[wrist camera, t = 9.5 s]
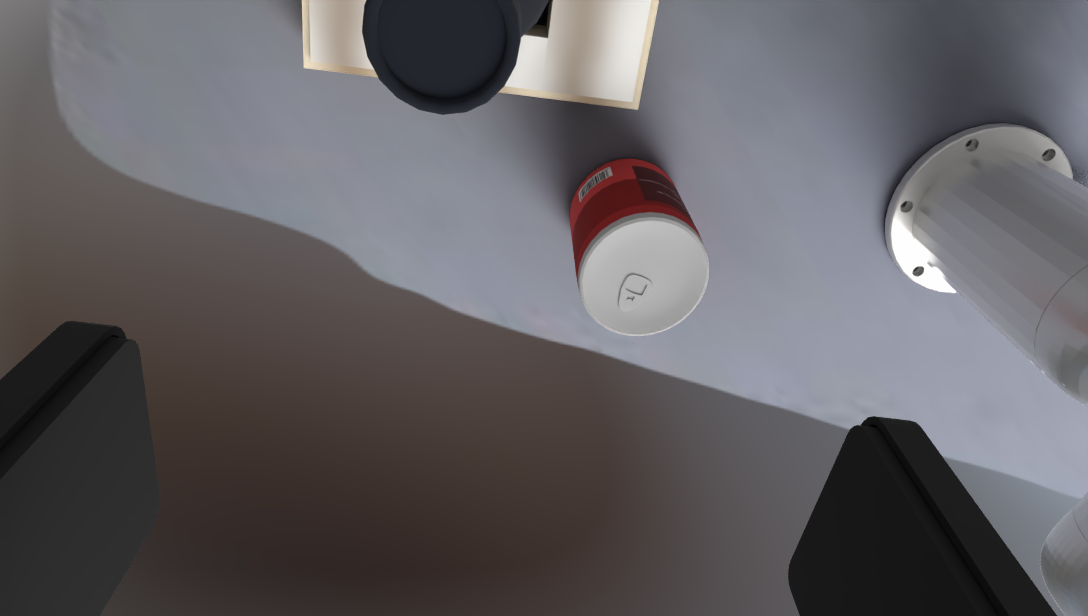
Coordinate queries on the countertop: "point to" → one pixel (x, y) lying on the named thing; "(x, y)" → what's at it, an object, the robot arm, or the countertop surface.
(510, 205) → the countertop surface
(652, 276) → the canned food
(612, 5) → the holder block
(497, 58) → the black water bottle
